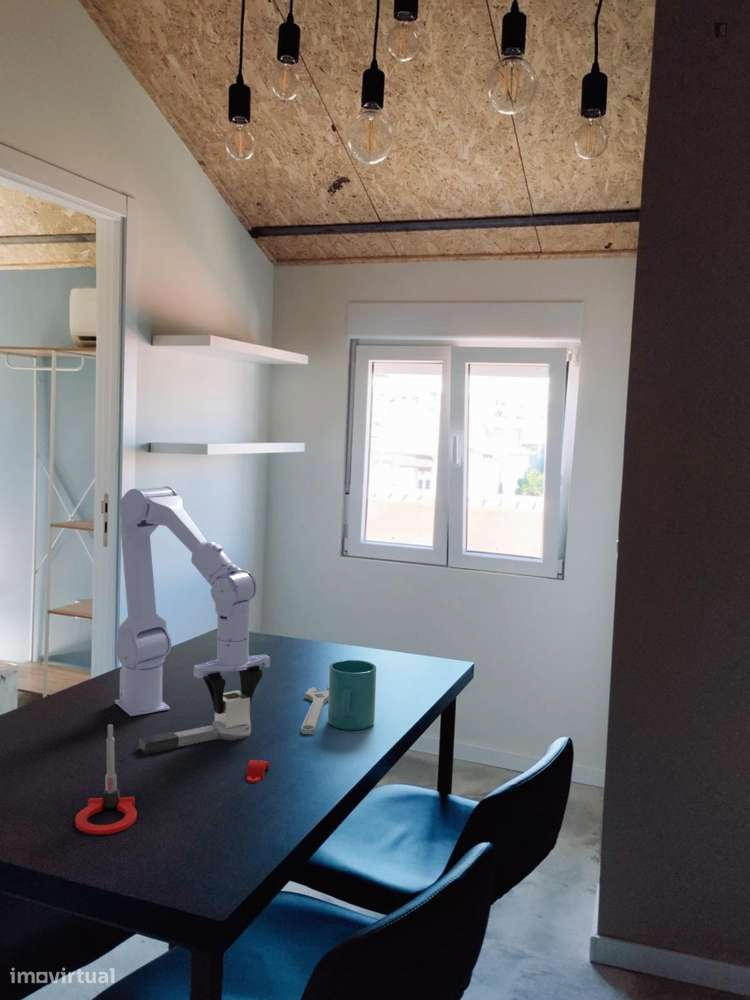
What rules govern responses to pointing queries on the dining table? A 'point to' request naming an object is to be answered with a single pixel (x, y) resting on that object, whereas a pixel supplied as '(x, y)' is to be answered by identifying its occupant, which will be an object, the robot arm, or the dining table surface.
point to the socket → (234, 710)
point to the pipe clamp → (256, 770)
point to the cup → (351, 694)
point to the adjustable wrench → (314, 709)
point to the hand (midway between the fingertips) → (231, 709)
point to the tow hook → (108, 799)
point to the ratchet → (192, 737)
